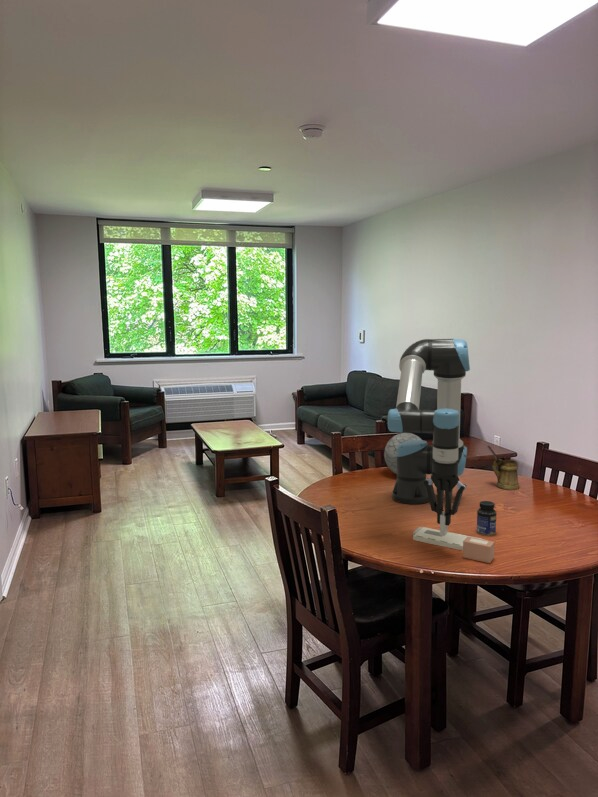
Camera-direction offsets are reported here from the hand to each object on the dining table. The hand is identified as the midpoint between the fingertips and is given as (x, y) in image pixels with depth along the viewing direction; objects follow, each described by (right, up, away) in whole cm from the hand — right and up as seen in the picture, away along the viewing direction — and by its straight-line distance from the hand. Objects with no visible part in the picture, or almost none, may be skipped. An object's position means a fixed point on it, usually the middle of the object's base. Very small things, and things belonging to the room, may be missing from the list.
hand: (443, 534), depth 175 cm
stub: (+9, -6, -6) cm, 12 cm away
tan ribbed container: (+42, +4, +67) cm, 79 cm away
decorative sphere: (+4, +6, +86) cm, 86 cm away
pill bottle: (+18, -4, +14) cm, 23 cm away
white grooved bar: (+3, -4, +6) cm, 8 cm away
